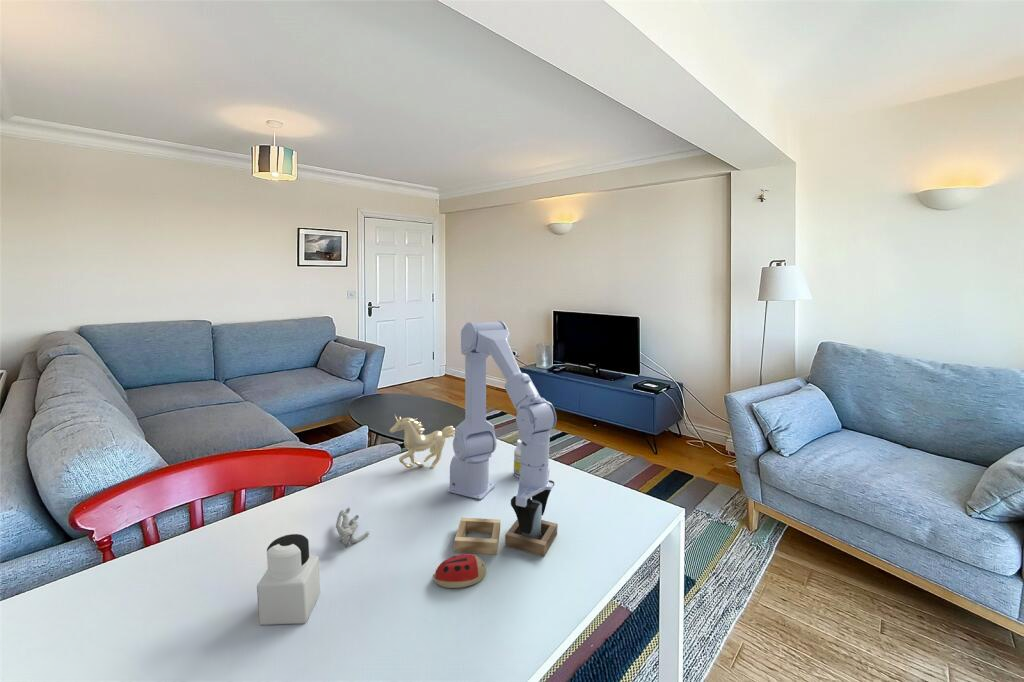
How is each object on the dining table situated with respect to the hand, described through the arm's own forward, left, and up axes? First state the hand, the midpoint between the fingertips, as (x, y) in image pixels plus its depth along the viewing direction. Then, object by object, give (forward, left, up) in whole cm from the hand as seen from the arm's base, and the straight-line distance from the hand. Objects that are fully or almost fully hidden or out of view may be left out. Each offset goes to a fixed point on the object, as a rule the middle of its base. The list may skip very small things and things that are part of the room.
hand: (532, 522), depth 95 cm
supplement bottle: (-13, +28, -4) cm, 31 cm away
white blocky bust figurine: (-29, -35, -4) cm, 46 cm away
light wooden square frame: (-10, -5, -4) cm, 12 cm away
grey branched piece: (-35, -15, -4) cm, 39 cm away
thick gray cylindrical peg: (0, 0, -4) cm, 4 cm away
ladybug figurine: (-8, -16, -4) cm, 19 cm away
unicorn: (-40, +20, -4) cm, 45 cm away
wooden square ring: (0, 0, -4) cm, 4 cm away
